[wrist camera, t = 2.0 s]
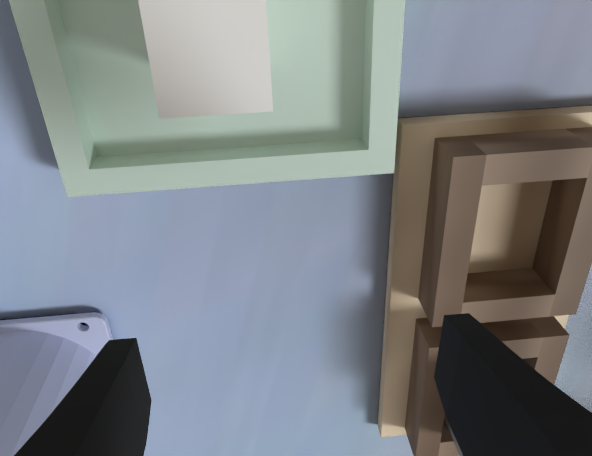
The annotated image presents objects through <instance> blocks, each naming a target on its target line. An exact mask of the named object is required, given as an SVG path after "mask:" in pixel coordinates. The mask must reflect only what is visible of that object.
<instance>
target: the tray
mask: <svg viewBox="0 0 592 456" xmlns="http://www.w3.org/2000/svg"><path fill="white" fill-rule="evenodd" d="M9 3H10V6H11V10H12V13H13V17H14V20H15V23H16V27H17V30H18V33H19V37H20V40H21V43H22V47H23V50H24V53H25V57H26V60H27V63H28V67H29V70H30V73H31V77H32V80H33V83H34V87H35V90H36V94H37V97H38V100H39V104H40V107H41V110H42V114H43V117H44V120H45V124H46V127H47V130H48V134H49V137H50V140H51V144H52V147H53V150H54V154H55V157H56V161H57V164H58V167H59V171H60V174H61V177H62V181H63V184H64V187H65V191H66V194H67V197H75V196H88V195H102V194H116V193H129V192H143V191H157V190H170V189H184V188H197V187H211V186H225V185H238V184H252V183H266V182H279V181H293V180H306V179H320V178H334V177H347V176H361V175H375V174H388V173H394V168H395V152H396V137H397V121H398V105H399V90H400V74H401V58H402V43H403V27H404V11H405V0H266V4H267V20H268V36H269V52H270V68H271V84H272V99H273V111H272V112H256V113H241V114H226V115H210V116H195V117H180V118H164V119H159V113H158V108H157V102H156V97H155V91H154V86H153V80H152V74H151V69H150V63H149V58H148V52H147V47H146V41H145V36H144V30H143V25H142V19H141V13H140V8H139V2H138V0H9Z"/></svg>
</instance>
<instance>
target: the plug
mask: <svg viewBox="0 0 592 456" xmlns="http://www.w3.org/2000/svg"><path fill="white" fill-rule="evenodd" d="M138 2H139V8H140V13H141V19H142V25H143V30H144V36H145V41H146V47H147V52H148V58H149V63H150V69H151V74H152V80H153V86H154V91H155V97H156V102H157V108H158V113H159V119H164V118H180V117H195V116H210V115H226V114H241V113H256V112H272V111H273V99H272V84H271V68H270V52H269V36H268V20H267V4H266V0H138Z"/></svg>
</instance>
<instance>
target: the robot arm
mask: <svg viewBox="0 0 592 456" xmlns="http://www.w3.org/2000/svg"><path fill="white" fill-rule="evenodd" d="M81 322H83V323H86V324H88V326H85V325H82V324H81ZM434 379H435V382H436V386H437V389H438V392H439V396H440V399H441V402H442V405H443V409H444V412H445V415H446V418H447V420H448V422H449V425H450V427H451V429H452V431H453V434H454V436H455V438H456V441H457V443H458V445H459V447H460V450H461V452H462V454H463V456H592V413H591V412H590V411H588V410H587V409H585V408H584V407H583V406H581V405H580V404H579V403H577V402H576V401H575V400H573V399H572V398H571V397H569V396H568V395H567V394H565V393H564V392H563V391H561V390H560V389H559V388H557V387H556V386H555V385H553V384H552V383H551V382H550V381H548V380H547V379H546V378H545V377H543V376H542V375H541V374H540V373H538V372H537V371H536V370H535V369H534V368H532V367H531V366H530V365H529V364H527V363H526V362H525V361H524V360H523V359H522V358H520V357H519V356H518V355H517V354H516V353H514V352H513V351H512V350H511V349H510V348H509V347H507V346H506V345H505V344H504V343H503V342H502V341H501V340H499V339H498V338H497V337H496V336H495V335H494V334H493V333H491V332H490V331H489V330H488V329H487V328H486V327H485V326H483V325H482V324H481V323H480V322H479V321H478V320H477V319H475V318H474V317H473V316H472V315H471V314H469V313H465V314H452V315H444V318H443V324H442V330H441V337H440V343H439V349H438V355H437V361H436V367H435V374H434ZM150 407H151V397H150V393H149V389H148V385H147V381H146V376H145V372H144V368H143V364H142V360H141V356H140V352H139V347H138V343H137V339H136V338H131V339H117V340H113V337H112V334H111V330H110V327H109V323H108V320H107V318H106V317H105V316H104V315H103V314H101V313H96V312H92V313H81V314H69V315H58V316H46V317H35V318H23V319H11V320H0V456H143V455H144V450H145V446H146V440H147V433H148V425H149V416H150Z"/></svg>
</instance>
